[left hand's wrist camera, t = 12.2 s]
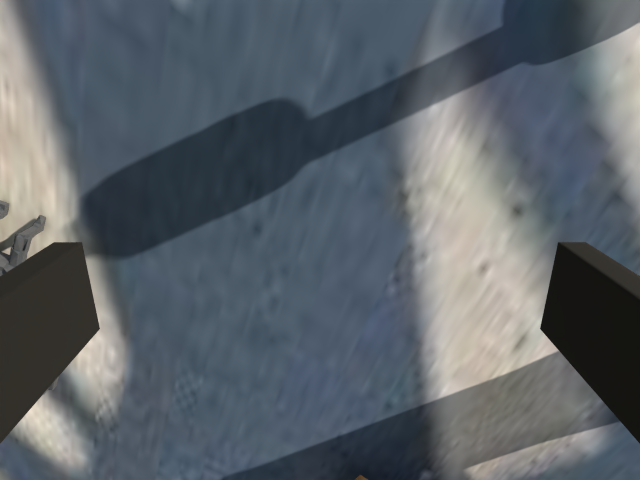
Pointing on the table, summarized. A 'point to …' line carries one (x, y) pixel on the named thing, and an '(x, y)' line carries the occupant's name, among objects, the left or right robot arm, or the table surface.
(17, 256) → the toy
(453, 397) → the table surface
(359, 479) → the box
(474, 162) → the table surface
